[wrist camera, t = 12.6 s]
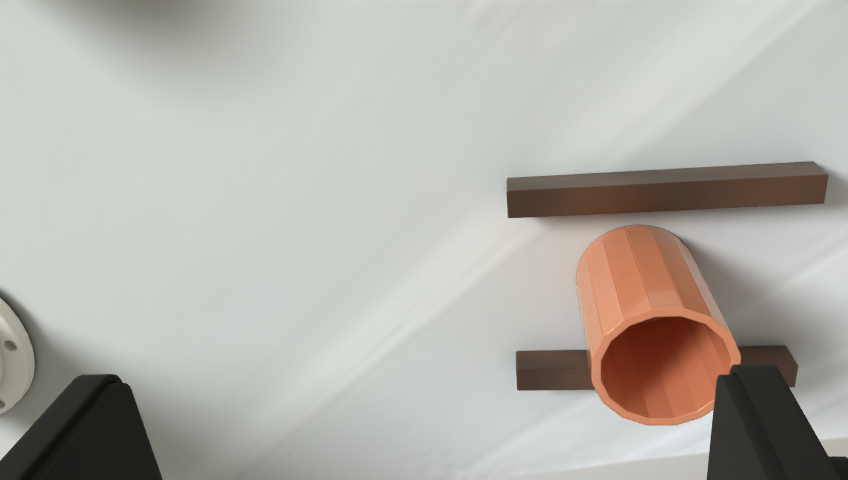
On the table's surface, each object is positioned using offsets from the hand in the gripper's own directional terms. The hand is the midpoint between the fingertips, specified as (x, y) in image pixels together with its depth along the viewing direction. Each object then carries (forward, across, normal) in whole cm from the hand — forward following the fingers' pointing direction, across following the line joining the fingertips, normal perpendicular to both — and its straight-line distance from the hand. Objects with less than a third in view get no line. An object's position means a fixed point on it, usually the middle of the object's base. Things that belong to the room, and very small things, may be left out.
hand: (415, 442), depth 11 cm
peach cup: (+28, -8, +13) cm, 32 cm away
